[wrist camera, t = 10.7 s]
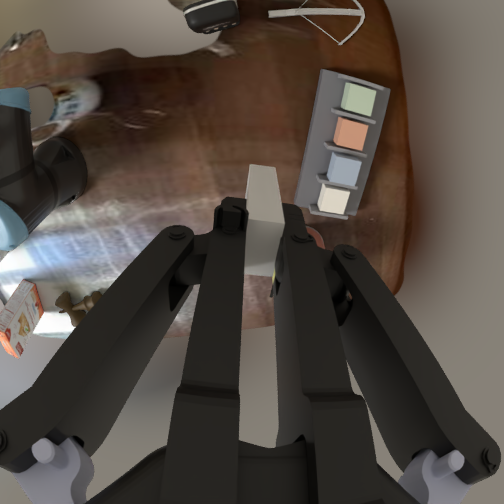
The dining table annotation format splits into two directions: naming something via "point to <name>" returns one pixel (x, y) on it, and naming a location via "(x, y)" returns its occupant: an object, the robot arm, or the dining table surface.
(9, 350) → the cracker box
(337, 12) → the crossbow
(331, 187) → the key ivory
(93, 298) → the kendama
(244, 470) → the robot arm
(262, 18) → the dining table surface
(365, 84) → the keypad
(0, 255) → the supplement box
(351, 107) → the key sage
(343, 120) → the key terracotta
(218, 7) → the battery charger
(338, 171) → the key slate
